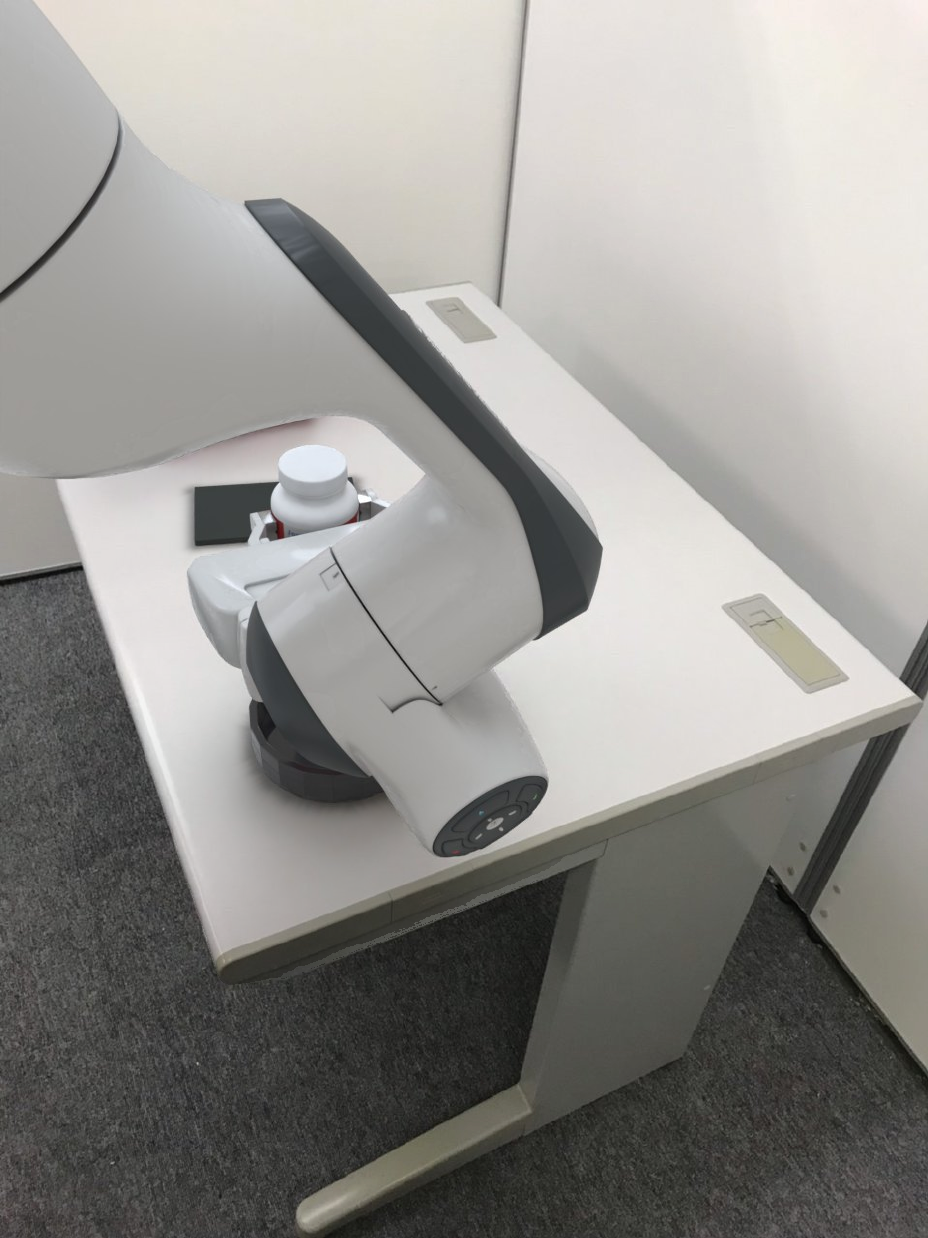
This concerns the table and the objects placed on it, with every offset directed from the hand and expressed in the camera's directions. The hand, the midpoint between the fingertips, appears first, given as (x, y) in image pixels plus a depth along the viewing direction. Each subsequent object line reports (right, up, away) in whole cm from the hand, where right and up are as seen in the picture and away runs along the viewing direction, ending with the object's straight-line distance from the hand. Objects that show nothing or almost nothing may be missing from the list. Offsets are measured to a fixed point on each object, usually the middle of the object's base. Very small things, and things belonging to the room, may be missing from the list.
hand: (310, 508), depth 69 cm
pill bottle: (0, -6, +4) cm, 7 cm away
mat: (-8, +3, +27) cm, 29 cm away
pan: (+1, -17, +7) cm, 18 cm away
